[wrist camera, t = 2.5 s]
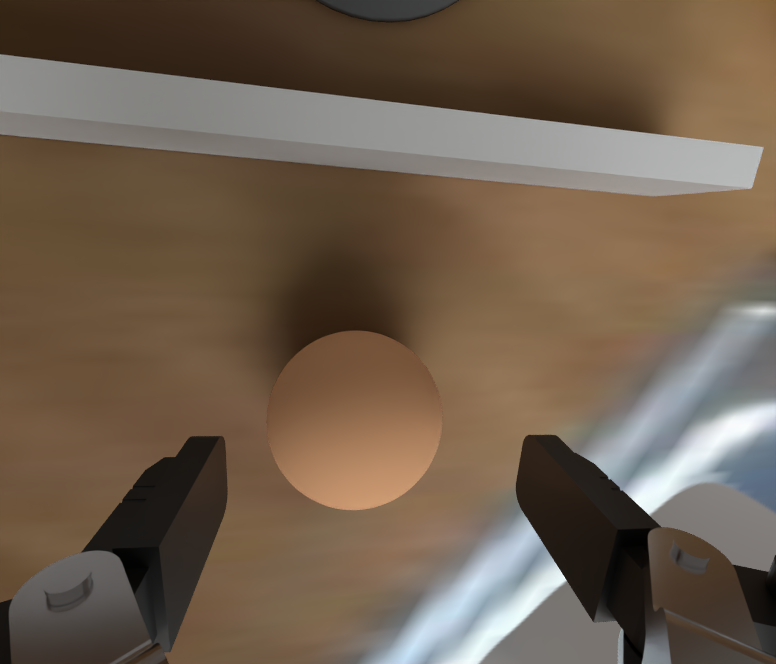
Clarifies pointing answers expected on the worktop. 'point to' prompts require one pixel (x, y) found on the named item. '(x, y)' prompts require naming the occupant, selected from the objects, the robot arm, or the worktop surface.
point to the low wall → (353, 132)
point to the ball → (354, 420)
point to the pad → (388, 8)
